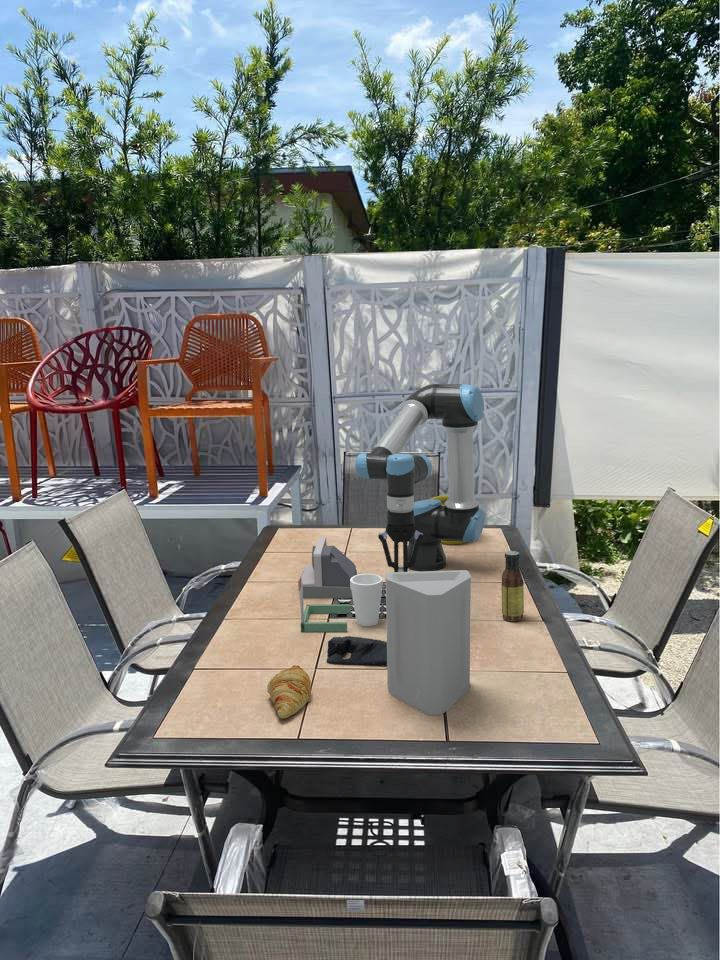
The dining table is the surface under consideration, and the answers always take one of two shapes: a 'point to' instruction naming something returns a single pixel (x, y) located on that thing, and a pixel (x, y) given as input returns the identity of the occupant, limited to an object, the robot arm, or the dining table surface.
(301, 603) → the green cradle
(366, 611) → the foam cup
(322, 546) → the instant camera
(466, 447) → the robot arm
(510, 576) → the sauce bottle
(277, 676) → the croissant
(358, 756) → the dining table surface
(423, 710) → the grey triangular prism
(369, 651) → the crumpled black cloth
